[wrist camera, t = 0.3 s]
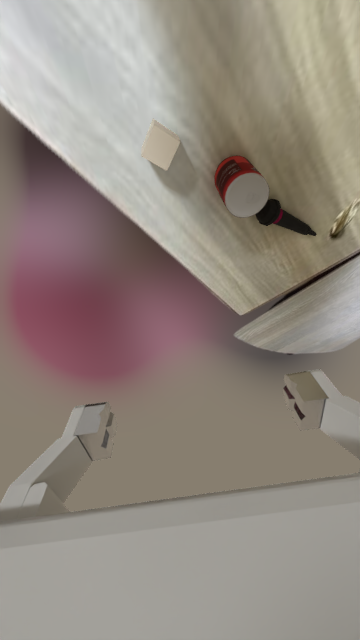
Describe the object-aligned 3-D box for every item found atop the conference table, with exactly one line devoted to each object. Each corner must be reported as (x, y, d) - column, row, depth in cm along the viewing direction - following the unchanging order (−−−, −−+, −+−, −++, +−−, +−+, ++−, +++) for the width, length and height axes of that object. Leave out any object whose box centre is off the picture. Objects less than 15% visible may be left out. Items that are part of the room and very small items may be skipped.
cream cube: (152, 118, 43) (153, 124, 40) (177, 135, 46) (180, 142, 42) (141, 148, 47) (141, 156, 43) (165, 162, 49) (166, 171, 45)
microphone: (313, 221, 65) (258, 193, 56) (330, 226, 61) (274, 197, 51) (301, 241, 67) (246, 218, 58) (317, 248, 63) (261, 223, 54)
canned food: (248, 192, 55) (265, 216, 47) (212, 196, 54) (223, 220, 47) (254, 152, 49) (274, 171, 42) (214, 156, 49) (227, 176, 41)
